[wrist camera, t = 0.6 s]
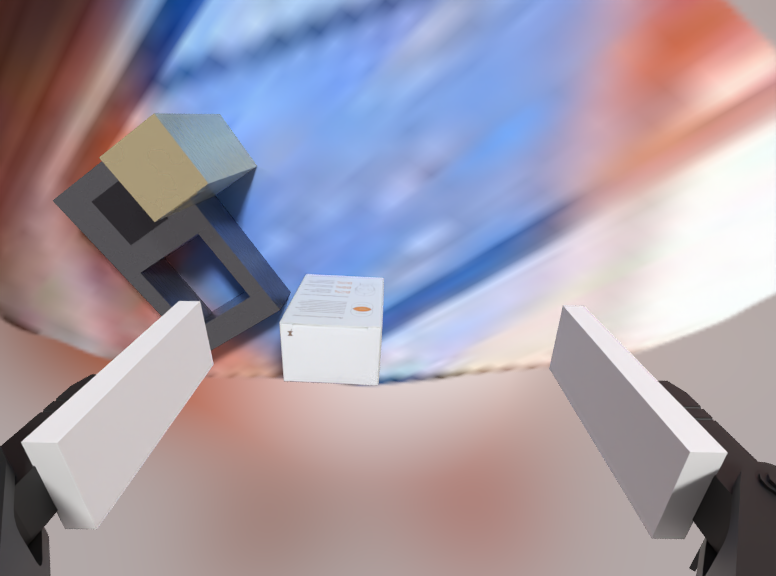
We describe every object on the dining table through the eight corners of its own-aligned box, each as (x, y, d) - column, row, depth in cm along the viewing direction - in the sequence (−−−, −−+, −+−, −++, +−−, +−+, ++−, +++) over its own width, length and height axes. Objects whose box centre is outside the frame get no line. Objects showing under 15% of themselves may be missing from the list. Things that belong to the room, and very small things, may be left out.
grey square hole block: (87, 192, 36) (51, 200, 33) (165, 131, 34) (136, 133, 30) (217, 336, 42) (199, 357, 39) (290, 292, 40) (279, 310, 36)
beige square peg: (177, 146, 35) (98, 156, 25) (219, 113, 34) (153, 112, 24) (215, 195, 36) (155, 222, 27) (257, 166, 35) (209, 184, 26)
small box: (307, 321, 41) (280, 382, 32) (305, 271, 39) (276, 322, 30) (382, 325, 41) (378, 388, 32) (385, 276, 39) (382, 328, 30)
